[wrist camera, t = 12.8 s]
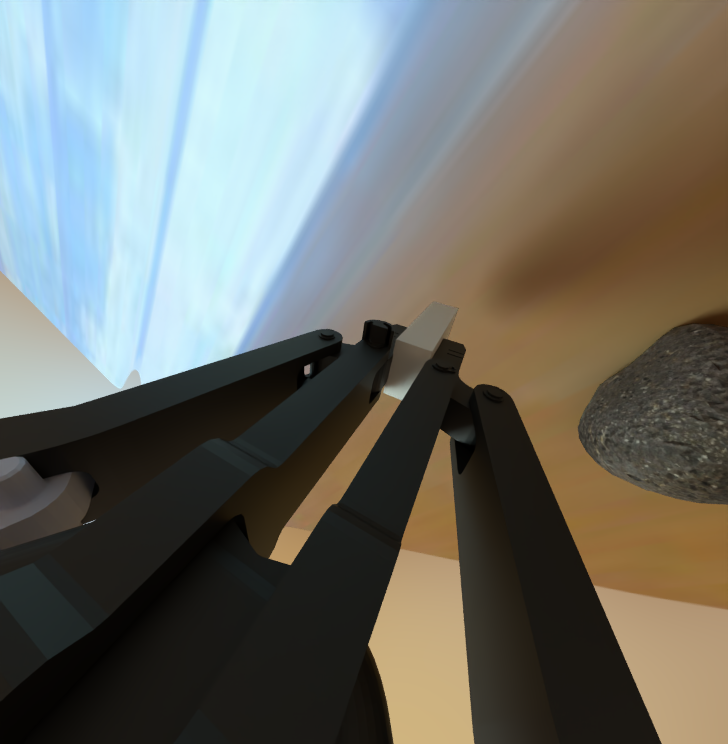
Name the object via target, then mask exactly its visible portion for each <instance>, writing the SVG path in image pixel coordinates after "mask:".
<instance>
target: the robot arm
mask: <svg viewBox="0 0 728 744" xmlns="http://www.w3.org/2000/svg"><path fill="white" fill-rule="evenodd" d="M457 311H458V308H455V307H452V306H448V305H445V304H441V303H437V302H434V301H433V302H432V303H431V304H430V305H429V306H428V307H427V308H426V309H425V310H424V311H423V312H422V313H421V315H420V316H419V317H418V318H417V319H416V320H415V321H414V322H413V323H412V324H411V325H410V326H409V327H408V328H407V327H404V326H401V325H398V324H395V325H391V324H390V323H387V322H385V321H380V320H368V321H365V323H364V330H363V336H362V340H361V341H359V342H358V343H357V344H356V345H350V344H345V343H342V339H343V337H342V335H341V334H340V333H338V332H336V331H334V330H330V329H321V330H316V331H313V332H309V333H306V334H303V335H300V336H297V337H293V338H290V339H287V340H284V341H281V342H277V343H274V344H271V345H268V346H265V347H261V348H258V349H255V350H252V351H249V352H246V353H242V354H239V355H236V356H233V357H230V358H226V359H223V360H220V361H217V362H214V363H210V364H207V365H204V366H201V367H198V368H194V369H191V370H188V371H185V372H182V373H178V374H175V375H172V376H169V377H166V378H162V379H159V380H156V381H153V382H150V383H146V384H143V385H140V386H137V387H134V388H131V389H127V390H124V391H121V392H118V393H115V394H111V395H108V396H105V397H102V398H98V399H96V400H92V401H89V402H86V403H83V404H79V405H76V406H72V407H66V408H61V409H55V410H48V411H43V412H37V413H31V414H25V415H19V416H13V417H7V418H2V419H0V744H393V737H392V731H391V725H390V718H389V712H388V706H387V701H386V696H385V692H384V688H383V684H382V680H381V677H380V674H379V671H378V668H377V665H376V662H375V659H374V657H373V655H372V653H371V650H370V648H369V646H368V643H369V640H370V637H371V634H372V631H373V628H374V625H375V623H376V620H377V617H378V613H379V611H380V608H381V605H382V602H383V599H384V596H385V593H386V590H387V587H388V584H389V581H390V578H391V575H392V572H393V569H394V566H395V563H396V560H397V557H398V554H399V551H400V547H401V541H402V537H403V534H404V531H405V528H406V525H407V522H408V520H409V517H410V514H411V511H412V508H413V505H414V502H415V499H416V496H417V493H418V490H419V488H420V485H421V482H422V479H423V476H424V473H425V470H426V467H427V464H428V461H429V459H430V456H431V453H432V450H433V447H434V444H435V441H436V438H437V435H438V432H439V430H440V429H441V430H442V431H444V432H445V433H447V434H448V435H450V436H451V439H450V450H451V463H452V475H453V488H454V500H455V513H456V525H457V538H458V550H459V563H460V575H461V588H462V600H463V613H464V624H465V637H466V650H467V662H468V675H469V687H470V700H471V712H472V724H473V734H474V743H475V744H662V743H661V741H660V739H659V737H658V734H657V732H656V730H655V727H654V725H653V723H652V720H651V718H650V716H649V713H648V711H647V709H646V706H645V704H644V702H643V700H642V697H641V695H640V693H639V691H638V688H637V686H636V683H635V681H634V679H633V676H632V674H631V672H630V669H629V667H628V665H627V663H626V660H625V658H624V656H623V653H622V651H621V649H620V646H619V644H618V642H617V639H616V637H615V635H614V632H613V630H612V628H611V625H610V623H609V621H608V619H607V617H606V614H605V612H604V609H603V607H602V605H601V603H600V600H599V598H598V595H597V593H596V591H595V588H594V586H593V584H592V582H591V579H590V577H589V575H588V572H587V570H586V568H585V565H584V563H583V561H582V558H581V556H580V554H579V551H578V549H577V547H576V545H575V542H574V540H573V538H572V535H571V533H570V531H569V528H568V526H567V524H566V521H565V519H564V517H563V514H562V512H561V510H560V508H559V505H558V503H557V501H556V498H555V496H554V494H553V491H552V489H551V487H550V484H549V482H548V480H547V477H546V475H545V473H544V471H543V468H542V466H541V464H540V461H539V459H538V457H537V454H536V452H535V450H534V447H533V445H532V443H531V440H530V438H529V436H528V434H527V431H526V429H525V427H524V424H523V422H522V420H521V417H520V415H519V413H518V410H517V408H516V406H515V403H514V401H513V399H512V398H511V397H510V395H508V394H507V393H506V392H505V391H504V390H502V389H499V388H498V387H496V386H491V385H486V384H481V385H477V386H476V387H475V388H474V389H473V388H471V387H469V386H468V385H466V384H465V383H464V382H462V381H461V379H460V378H459V376H458V374H459V369H460V366H461V363H462V360H463V358H464V355H465V352H466V349H465V347H464V345H463V344H460V343H457V342H454V341H450V340H447V339H448V336H449V334H450V331H451V328H452V325H453V322H454V320H455V317H456V314H457ZM309 364H310V373H309V374H307V375H305V374H304V366H306V365H309ZM384 385H385V388H384V393H385V394H388V395H390V396H393V397H395V398H397V399H400V400H402V401H401V403H400V404H399V406H398V408H397V409H396V411H395V413H394V414H393V416H392V417H391V419H390V421H389V422H388V424H387V426H386V427H385V429H384V430H383V432H382V434H381V435H380V437H379V439H378V440H377V442H376V443H375V445H374V447H373V448H372V450H371V452H370V453H369V455H368V456H367V458H366V460H365V461H364V463H363V465H362V466H361V468H360V469H359V471H358V473H357V474H356V476H355V478H354V479H353V481H352V482H351V484H350V486H349V487H348V489H347V491H346V492H345V494H344V495H343V497H342V498H341V500H340V501H339V502H338V503H337V504H332V505H331V506H330V507H329V508H328V509H327V511H326V512H325V514H324V515H323V516H322V518H321V519H320V521H319V522H318V524H317V525H316V527H315V528H314V530H313V532H312V533H311V535H310V536H309V538H308V539H307V541H306V542H305V544H304V546H303V547H302V549H301V550H300V552H299V553H298V555H297V556H296V558H295V560H294V561H293V563H292V564H291V565H288V564H284V563H281V562H278V561H274V560H271V559H268V558H269V557H270V555H271V553H272V551H273V549H274V548H275V545H276V542H277V540H278V537H279V535H280V533H281V531H282V529H283V528H284V526H285V525H286V523H287V522H288V521H289V519H290V518H291V517H292V515H293V514H294V513H295V511H296V510H297V509H298V507H299V506H300V504H301V503H302V502H303V500H304V499H305V498H306V496H307V495H308V494H309V492H310V491H311V490H312V488H313V487H314V486H315V484H316V483H317V482H318V480H319V479H320V478H321V476H322V475H323V473H324V472H325V471H326V469H327V468H328V467H329V465H330V464H331V463H332V461H333V460H334V459H335V457H336V456H337V455H338V453H339V452H340V451H341V449H342V448H343V446H344V445H345V444H346V442H347V441H348V440H349V438H350V437H351V436H352V434H353V433H354V432H355V430H356V429H357V428H358V426H359V425H360V424H361V422H362V421H363V419H364V418H365V417H366V415H367V414H368V413H369V411H370V410H371V409H372V407H373V406H374V405H375V403H376V402H377V401H378V399H379V397H380V394H381V390H382V388H383V386H384ZM93 520H95V521H93ZM91 521H93V522H91ZM88 522H91V523H88ZM85 523H88V524H85ZM83 524H84V525H83Z"/></svg>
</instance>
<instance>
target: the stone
mask: <svg viewBox="0 0 728 744" xmlns="http://www.w3.org/2000/svg"><path fill="white" fill-rule="evenodd" d="M578 432H579V439H580V441H581V443H582V445H583V446H584V448H585V450H586V451H587V452H588V454H589V455H590V456H591V457H592V458H593V459H594V460H595V462H597V463H598V464H599V465H600V466H601V467H603V468H604V469H605V470H607V471H608V472H609V473H611V474H612V475H614V476H617V477H619V478H621V479H623V480H625V481H628V482H630V483H632V484H634V485H636V486H639V487H641V488H643V489H645V490H648V491H653V492H656V493H659V494H662V495H666V496H669V497H673V498H676V499H681V500H686V501H691V502H696V503H708V504H727V505H728V328H727V327H722V326H718V325H713V324H690V325H686V326H681V327H676V328H673V329H672V330H670V331H669V332H668V333H666V334H665V335H663V336H662V337H661V338H660V339H658V340H657V341H656V342H655V343H654V344H653V345H652V346H651V347H650V348H648V349H647V350H646V351H645V352H644V353H643V354H642V355H640V356H639V357H638V358H637V359H636V360H635V361H634V362H632V363H631V364H630V365H629V366H627V367H626V368H624V369H623V370H621V371H620V372H618V373H617V374H615V375H613V376H612V377H610V378H609V379H607V380H606V381H604V382H603V383H602V384H600V386H599V387H598V389H597V390H596V392H595V394H594V395H593V397H592V399H591V401H590V403H589V404H588V405H587V407H586V408H585V410H584V413H583V415H582V417H581V419H580V424H579V426H578Z"/></svg>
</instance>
